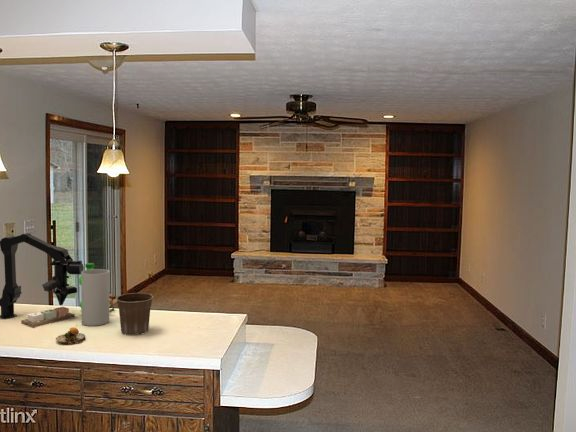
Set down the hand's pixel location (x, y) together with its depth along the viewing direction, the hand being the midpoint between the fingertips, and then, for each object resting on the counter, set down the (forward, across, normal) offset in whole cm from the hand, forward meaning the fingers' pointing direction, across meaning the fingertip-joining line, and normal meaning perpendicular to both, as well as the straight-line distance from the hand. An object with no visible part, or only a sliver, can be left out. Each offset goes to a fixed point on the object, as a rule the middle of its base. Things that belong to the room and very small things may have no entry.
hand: (61, 305), depth 247 cm
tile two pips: (+5, 0, -6) cm, 8 cm away
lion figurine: (+6, +10, +19) cm, 23 cm away
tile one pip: (+5, 0, -13) cm, 14 cm away
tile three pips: (+5, 0, 0) cm, 5 cm away
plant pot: (+6, +45, +8) cm, 46 cm away
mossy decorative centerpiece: (+7, +34, -16) cm, 38 cm away
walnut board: (+6, 0, -6) cm, 9 cm away
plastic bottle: (+6, +1, +16) cm, 17 cm away
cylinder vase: (+6, +20, +6) cm, 22 cm away
